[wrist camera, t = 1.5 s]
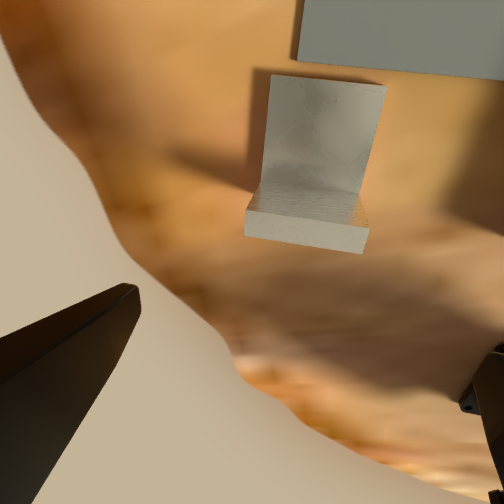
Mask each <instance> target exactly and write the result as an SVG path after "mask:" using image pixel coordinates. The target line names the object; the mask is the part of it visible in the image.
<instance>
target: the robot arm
mask: <svg viewBox="0 0 504 504" xmlns="http://www.w3.org/2000/svg"><path fill="white" fill-rule="evenodd" d="M140 314H141V302H140V294H139V288H138V287H137V286H136V285H133V284H127V283H121V284H119V285H116V286H114V287H112V288H110V289H108V290H105V291H103V292H101V293H99V294H96V295H94V296H92V297H90V298H88V299H85V300H83V301H81V302H79V303H77V304H74V305H72V306H70V307H68V308H66V309H63V310H61V311H59V312H57V313H54V314H52V315H50V316H48V317H46V318H43V319H41V320H39V321H37V322H35V323H32V324H30V325H28V326H26V327H23V328H21V329H19V330H17V331H15V332H12V333H10V334H8V335H6V336H3V337H1V338H0V504H31V503H32V502H33V500H34V499H35V497H36V495H37V494H38V492H39V490H40V489H41V487H42V485H43V484H44V482H45V481H46V479H47V477H48V476H49V474H50V472H51V471H52V469H53V468H54V466H55V464H56V463H57V461H58V459H59V458H60V456H61V455H62V453H63V451H64V450H65V448H66V446H67V445H68V443H69V442H70V440H71V438H72V437H73V435H74V433H75V432H76V430H77V429H78V427H79V425H80V424H81V422H82V421H83V419H84V417H85V416H86V414H87V412H88V411H89V409H90V408H91V406H92V404H93V403H94V401H95V399H96V398H97V396H98V395H99V393H100V391H101V390H102V388H103V386H104V385H105V383H106V382H107V380H108V378H109V377H110V375H111V373H112V372H113V370H114V368H115V367H116V365H117V363H118V361H119V359H120V357H121V355H122V353H123V351H124V349H125V346H126V344H127V342H128V340H129V338H130V336H131V334H132V332H133V330H134V327H135V325H136V323H137V321H138V319H139V317H140ZM458 404H459V406H460V409H461V410H462V411H463V412H466V413H471V414H476V415H481V418H482V422H483V426H484V430H485V435H486V438H487V442H488V446H489V449H490V452H491V455H492V458H493V461H494V464H495V467H496V470H497V473H498V475H499V478H500V481H501V484H502V487H503V490H502V491H500V490H498V489H497V490H493V491H489V492H488V494H489V499H490V503H491V504H504V344H502V345H499V346H498V347H497V348H496V349H495V350H494V352H490V353H488V354H487V355H486V357H485V358H484V360H483V361H482V362H481V364H480V365H479V367H478V368H477V370H476V371H475V373H474V376H473V382H472V383H471V385H470V386H469V388H468V389H467V391H466V392H465V393H464V395H463V396H462V398H461V399H460V401H459V403H458Z"/></svg>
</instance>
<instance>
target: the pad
mask: <svg viewBox="0 0 504 504" xmlns="http://www.w3.org/2000/svg"><path fill="white" fill-rule="evenodd" d="M297 61H298V62H309V63H320V64H330V65H341V66H351V67H362V68H373V69H383V70H394V71H405V72H415V73H426V74H436V75H447V76H458V77H468V78H479V79H490V80H500V81H504V0H305V3H304V11H303V18H302V26H301V33H300V41H299V48H298V56H297Z"/></svg>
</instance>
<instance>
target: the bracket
mask: <svg viewBox="0 0 504 504" xmlns="http://www.w3.org/2000/svg"><path fill="white" fill-rule="evenodd" d="M387 88H388V86H384V85H375V84H365V83H355V82H345V81H335V80H325V79H315V78H305V77H295V76H285V75H275V74H273V75H271V83H270V93H269V103H268V113H267V123H266V133H265V143H264V153H263V163H262V173H261V181H260V183H259V185H258V187H257V189H256V191H255V193H254V195H253V197H252V199H251V201H250V202H249V204H248V206H247V208H246V213H245V226H244V236H249V237H256V238H262V239H268V240H275V241H281V242H287V243H293V244H300V245H306V246H312V247H319V248H325V249H331V250H337V251H344V252H350V253H356V254H362V253H363V250H364V247H365V244H366V241H367V237H368V234H369V231H370V226H369V223H368V220H367V217H366V214H365V211H364V208H363V205H362V202H361V199H360V196H359V192H360V188H361V184H362V181H363V177H364V173H365V170H366V166H367V162H368V159H369V155H370V151H371V147H372V144H373V140H374V136H375V133H376V129H377V125H378V122H379V118H380V114H381V111H382V107H383V103H384V100H385V96H386V92H387Z"/></svg>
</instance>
